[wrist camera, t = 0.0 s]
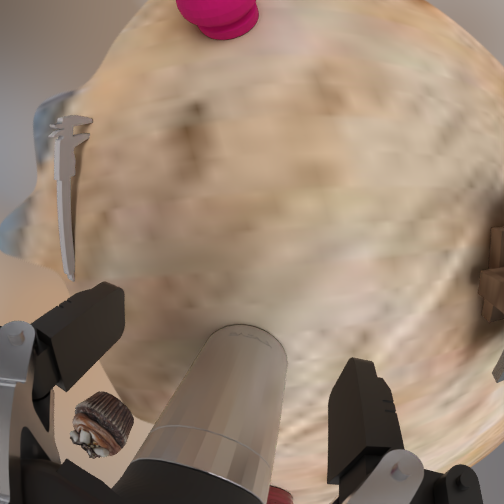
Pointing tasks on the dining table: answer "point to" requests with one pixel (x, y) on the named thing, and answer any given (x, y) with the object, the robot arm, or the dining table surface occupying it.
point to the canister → (278, 496)
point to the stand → (494, 278)
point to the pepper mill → (220, 16)
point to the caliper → (66, 181)
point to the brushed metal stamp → (499, 369)
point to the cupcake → (101, 425)
